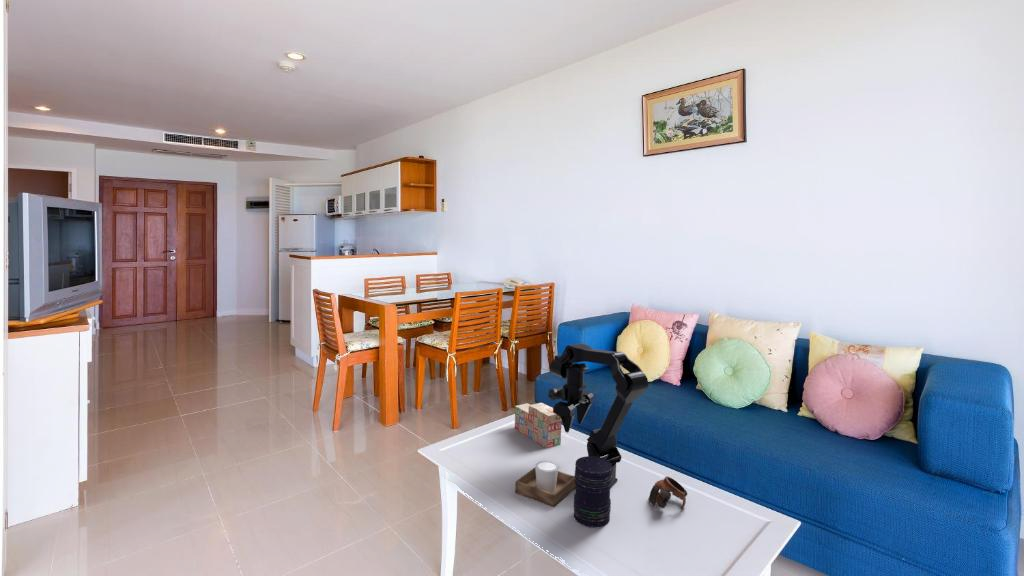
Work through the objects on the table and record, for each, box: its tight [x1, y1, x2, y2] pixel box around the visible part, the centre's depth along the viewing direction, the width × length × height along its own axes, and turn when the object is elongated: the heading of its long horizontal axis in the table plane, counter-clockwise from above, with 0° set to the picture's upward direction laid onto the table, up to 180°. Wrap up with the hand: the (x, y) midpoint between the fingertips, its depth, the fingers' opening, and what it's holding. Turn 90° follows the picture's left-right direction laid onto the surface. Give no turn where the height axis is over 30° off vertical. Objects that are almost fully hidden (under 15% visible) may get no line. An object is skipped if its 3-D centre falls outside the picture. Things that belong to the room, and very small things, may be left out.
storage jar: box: [573, 455, 612, 529], centre depth 133 cm, size 10×10×15 cm
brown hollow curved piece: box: [648, 476, 688, 509], centre depth 140 cm, size 12×10×8 cm
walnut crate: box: [514, 467, 576, 508], centre depth 147 cm, size 13×13×4 cm
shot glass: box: [534, 460, 559, 493], centre depth 146 cm, size 7×7×7 cm
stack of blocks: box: [514, 402, 563, 449], centre depth 186 cm, size 21×6×12 cm, turn 33°
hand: (573, 427), depth 164 cm, fingers open, 9 cm apart
